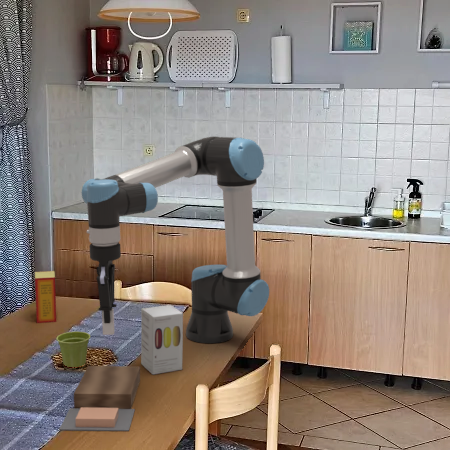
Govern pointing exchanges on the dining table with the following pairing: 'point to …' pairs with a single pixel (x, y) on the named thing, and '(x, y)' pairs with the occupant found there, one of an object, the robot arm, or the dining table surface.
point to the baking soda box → (45, 296)
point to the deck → (107, 387)
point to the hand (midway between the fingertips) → (108, 333)
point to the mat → (121, 425)
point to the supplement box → (161, 339)
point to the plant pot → (73, 348)
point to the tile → (97, 417)
